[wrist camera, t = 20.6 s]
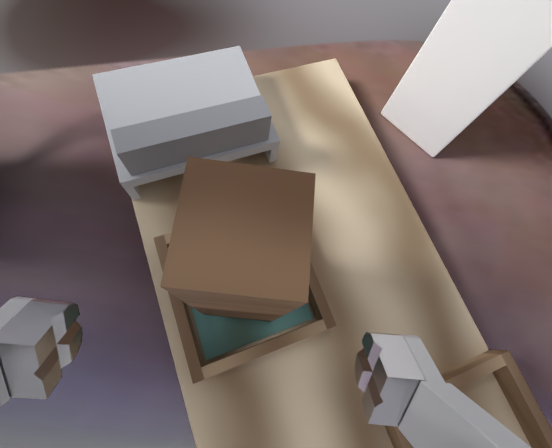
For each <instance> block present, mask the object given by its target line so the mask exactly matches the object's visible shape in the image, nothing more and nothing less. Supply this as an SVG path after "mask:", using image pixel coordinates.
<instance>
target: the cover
mask: <svg viewBox="0 0 552 448" xmlns="http://www.w3.org/2000/svg"><path fill="white" fill-rule="evenodd" d="M93 79H94V83H95V87H96V91H97V95H98V99H99V103H100V107H101V111H102V115H103V119H104V123H105V127H106V131H107V135H108V139H109V143H110V147H111V151H112V155H113V159H114V163H115V166H116V170H117V174H118V178H119V182H120V184H121V186H122V187H123V188H124V189H125V191H126V192H127V193H128V195H129V196H130V197H131V198H132V200H133V201H134V200H137V199H141V196H140V192H139V188H138V185H142V184H146V183H149V182H153V181H157V180H161V179H164V178H168V177H172V176H175V175H179V174H183V173H184V172H185V167H186V162H187V158H188V156H189V157H197V158H204V159H212V160H219V161H231V160H235V159H238V158H242V157H246V156H250V155H253V154H257V153H261V152H264V151H265V153H266V156H267V158H268V161H269V163H270V162H274V161H276V158H277V153H278V149H279V144H280V139H279V137H278V135H277V132H276V130H275V128H274V125H273V123H272V121H271V118H272V115H271V113H270V110H269V108H268V106H267V103H266V101H265V99H264V96H263V95H260V92H259V90H258V88H257V85H256V83H255V81H254V78H253V76H252V74H251V71H250V69H249V67H248V64H247V62H246V60H245V57H244V55H243V52H242V50H241V48H240V46H237V47H232V48H226V49H221V50H216V51H211V52H206V53H200V54H195V55H190V56H185V57H180V58H175V59H170V60H165V61H159V62H154V63H149V64H144V65H139V66H134V67H129V68H123V69H118V70H113V71H108V72H103V73H98V74H93Z"/></svg>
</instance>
